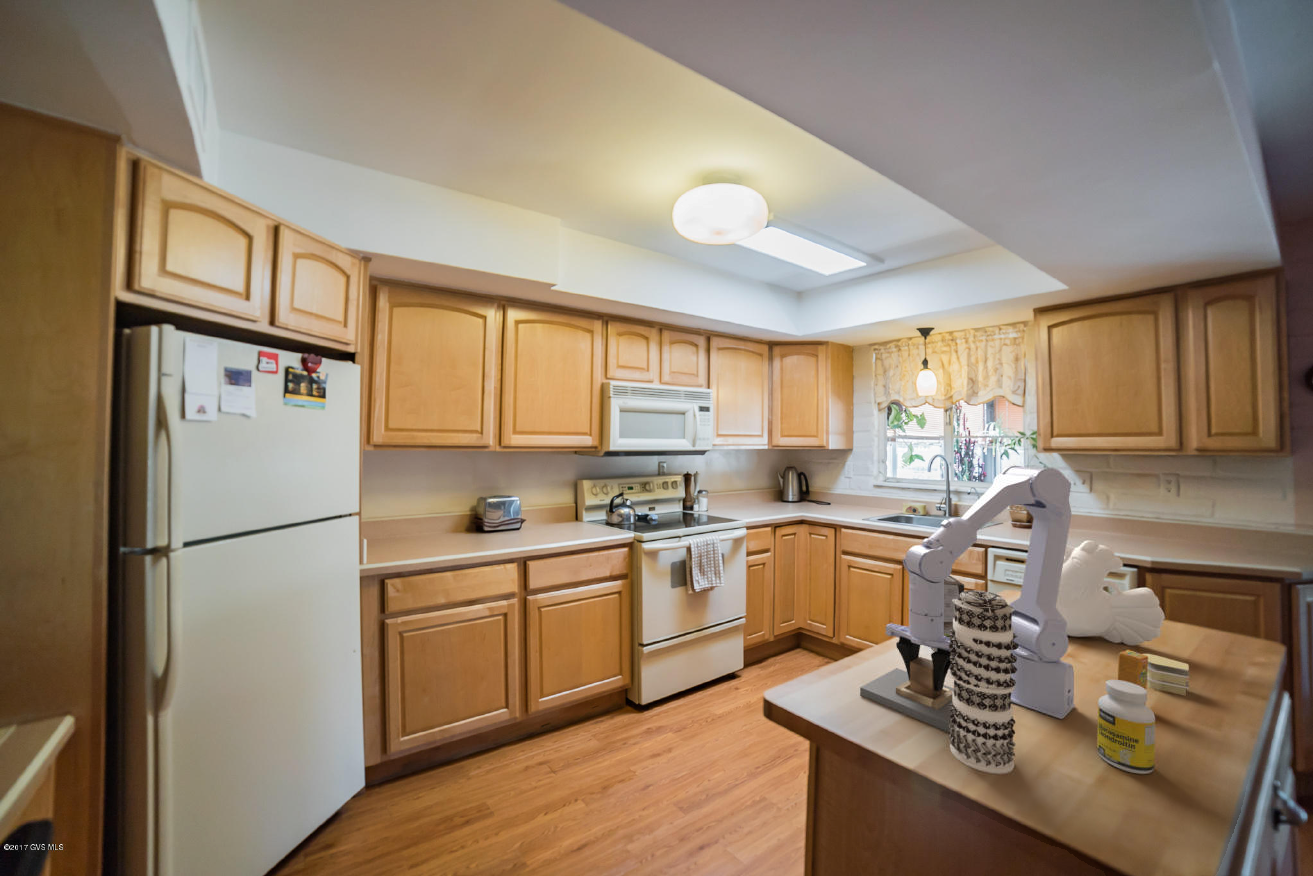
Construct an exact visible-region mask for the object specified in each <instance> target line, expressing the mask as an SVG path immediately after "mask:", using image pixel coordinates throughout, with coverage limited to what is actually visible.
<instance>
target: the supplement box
mask: <svg viewBox="0 0 1313 876" xmlns="http://www.w3.org/2000/svg"><path fill="white" fill-rule="evenodd" d="M1143 654H1144V653H1140V652H1136V651H1133V650H1130V649H1125V651H1120V652H1119V653H1118V667H1117V680H1121V681H1126V682H1130V683H1133V684H1136V685H1138V686H1141V687H1142V688H1144V689H1145V690H1146V691H1147V686H1148V679H1147V667H1148V657H1147V656H1145V655H1143ZM1145 704H1146V702H1145Z"/></svg>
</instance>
